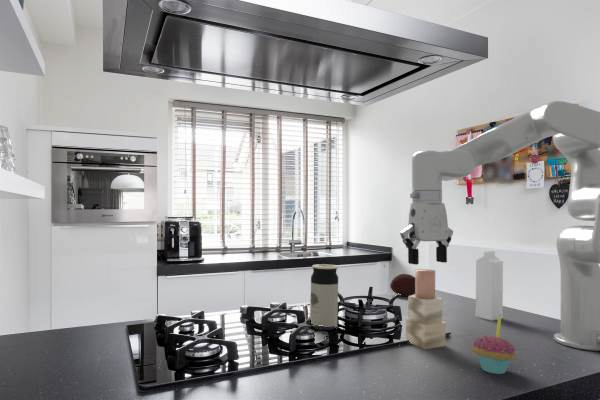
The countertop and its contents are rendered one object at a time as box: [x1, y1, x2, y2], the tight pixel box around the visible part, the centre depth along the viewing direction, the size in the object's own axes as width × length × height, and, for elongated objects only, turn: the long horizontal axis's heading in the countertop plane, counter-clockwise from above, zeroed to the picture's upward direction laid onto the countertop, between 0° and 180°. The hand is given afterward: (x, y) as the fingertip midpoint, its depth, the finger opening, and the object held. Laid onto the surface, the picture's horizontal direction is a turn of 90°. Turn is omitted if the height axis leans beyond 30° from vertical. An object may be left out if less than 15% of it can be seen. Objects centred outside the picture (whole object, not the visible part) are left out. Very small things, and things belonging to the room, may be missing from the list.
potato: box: [390, 273, 415, 297], centre depth 167 cm, size 9×12×9 cm
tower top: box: [407, 294, 443, 324], centre depth 105 cm, size 6×6×6 cm
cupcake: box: [471, 314, 516, 375], centre depth 88 cm, size 9×8×12 cm
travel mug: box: [309, 263, 339, 328], centre depth 118 cm, size 8×8×18 cm
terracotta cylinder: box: [414, 268, 436, 299], centre depth 106 cm, size 5×5×7 cm
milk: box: [475, 250, 504, 322], centre depth 135 cm, size 6×6×22 cm
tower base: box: [405, 317, 447, 350], centre depth 105 cm, size 7×7×6 cm
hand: (427, 262), depth 106 cm, fingers open, 9 cm apart
